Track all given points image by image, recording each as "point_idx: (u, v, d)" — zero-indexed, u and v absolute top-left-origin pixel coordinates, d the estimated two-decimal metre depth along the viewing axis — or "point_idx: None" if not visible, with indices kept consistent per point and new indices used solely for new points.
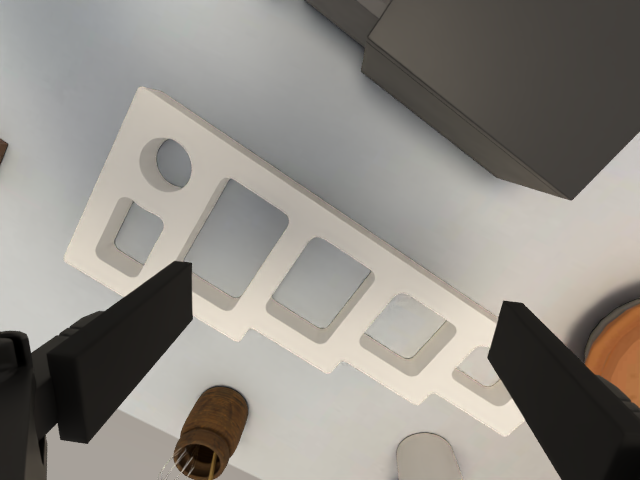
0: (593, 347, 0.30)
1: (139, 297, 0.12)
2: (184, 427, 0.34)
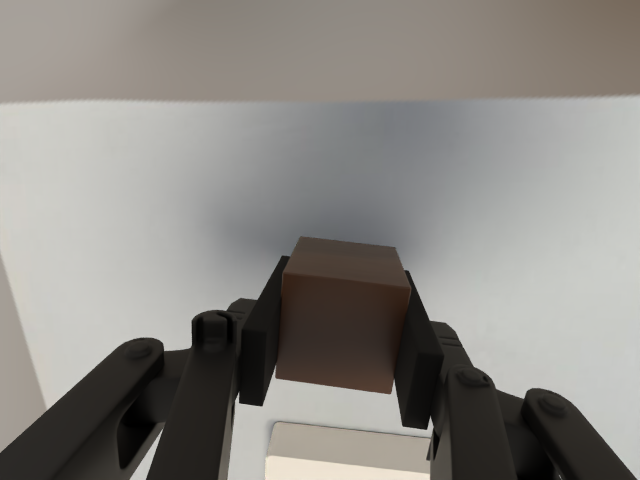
0: None
1: (277, 286, 0.13)
2: None
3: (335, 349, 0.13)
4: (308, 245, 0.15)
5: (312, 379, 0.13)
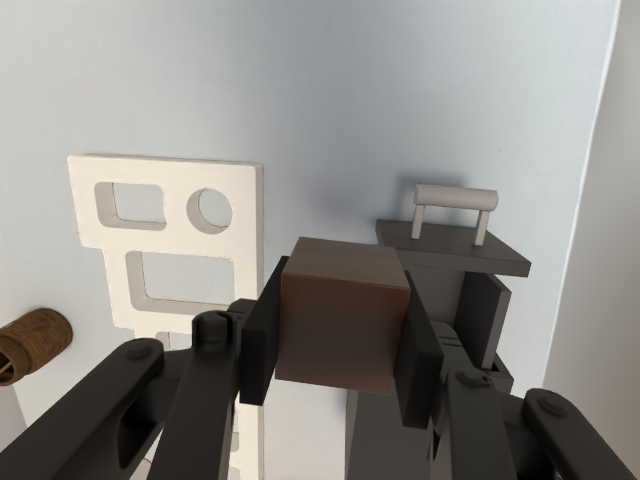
0: None
1: (277, 286, 0.13)
2: (9, 331, 0.36)
3: (335, 350, 0.13)
4: (308, 245, 0.15)
5: (311, 379, 0.13)
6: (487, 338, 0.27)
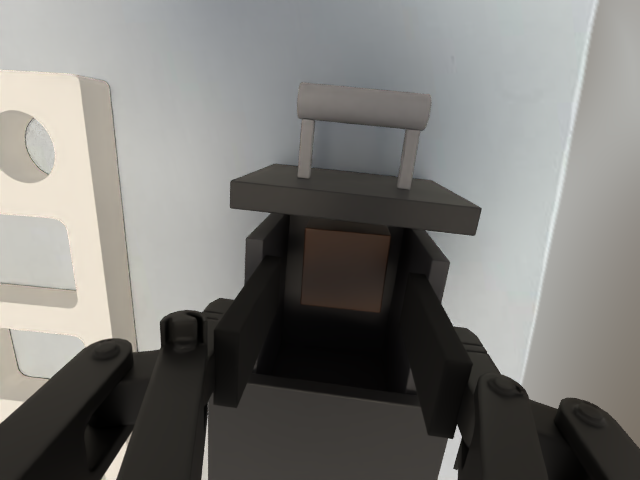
0: None
1: (257, 286, 0.13)
2: None
3: (341, 281, 0.19)
4: None
5: (326, 304, 0.19)
6: None
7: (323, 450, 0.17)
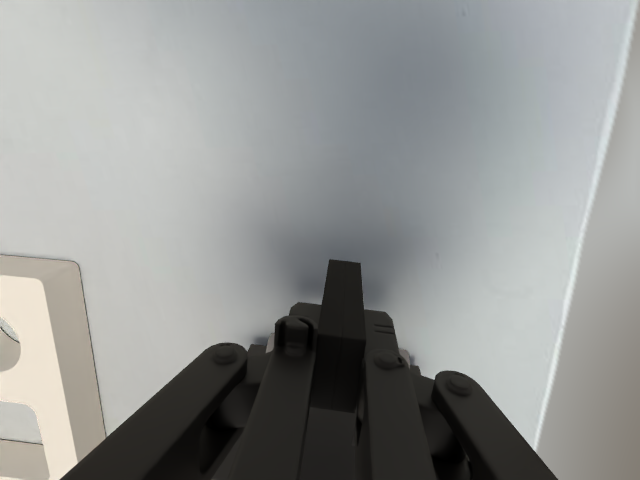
0: None
1: (336, 290, 0.13)
2: None
3: None
4: None
5: None
6: None
7: None
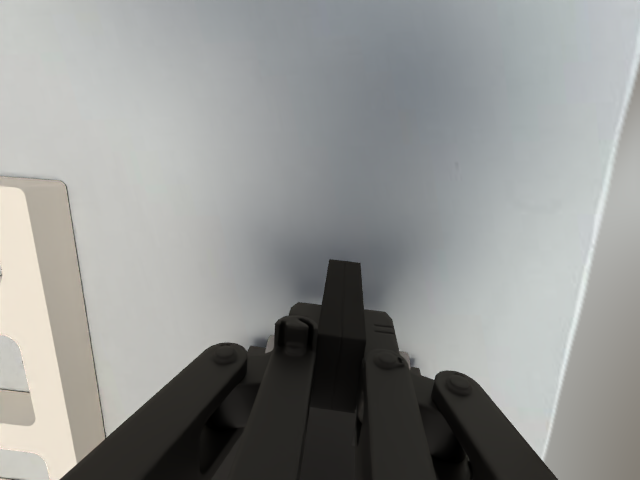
0: None
1: (336, 290, 0.13)
2: None
3: None
4: None
5: None
6: None
7: None
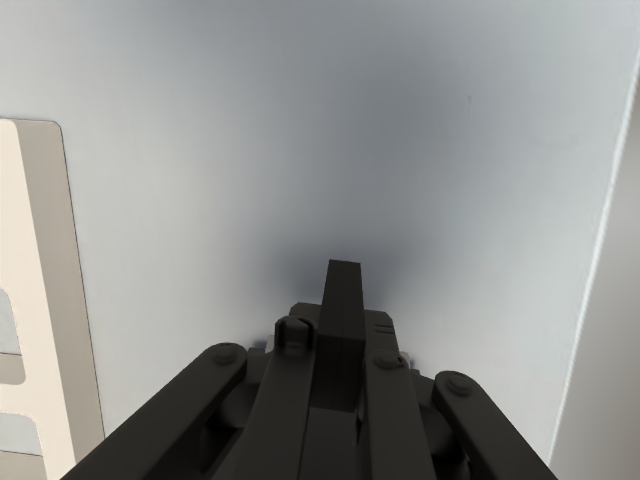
0: None
1: (336, 290, 0.13)
2: None
3: None
4: None
5: None
6: None
7: None
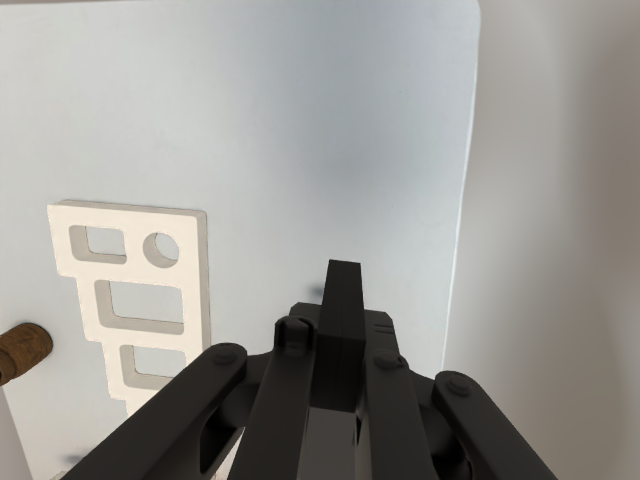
0: None
1: (336, 290, 0.13)
2: None
3: None
4: None
5: None
6: None
7: None
